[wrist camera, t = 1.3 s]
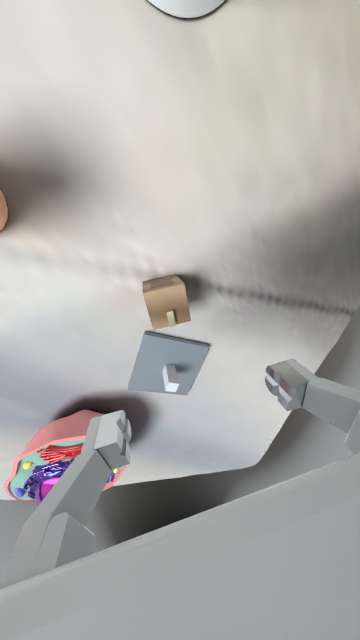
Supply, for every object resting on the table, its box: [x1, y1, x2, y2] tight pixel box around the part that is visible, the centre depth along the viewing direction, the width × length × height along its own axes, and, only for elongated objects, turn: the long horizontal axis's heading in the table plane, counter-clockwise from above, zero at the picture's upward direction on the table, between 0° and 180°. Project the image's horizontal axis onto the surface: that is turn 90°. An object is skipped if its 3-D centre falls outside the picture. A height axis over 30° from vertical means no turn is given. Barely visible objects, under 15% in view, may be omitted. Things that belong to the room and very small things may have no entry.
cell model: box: [4, 410, 126, 506], centre depth 30 cm, size 17×20×11 cm
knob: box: [143, 274, 191, 330], centre depth 23 cm, size 5×5×7 cm
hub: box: [128, 331, 209, 395], centre depth 30 cm, size 12×12×6 cm
